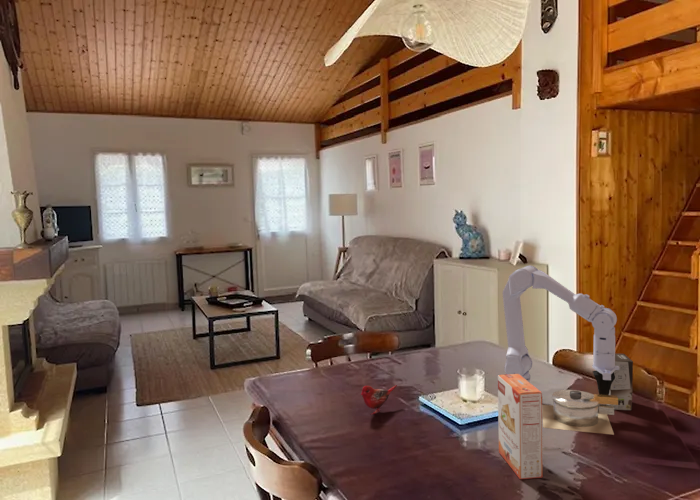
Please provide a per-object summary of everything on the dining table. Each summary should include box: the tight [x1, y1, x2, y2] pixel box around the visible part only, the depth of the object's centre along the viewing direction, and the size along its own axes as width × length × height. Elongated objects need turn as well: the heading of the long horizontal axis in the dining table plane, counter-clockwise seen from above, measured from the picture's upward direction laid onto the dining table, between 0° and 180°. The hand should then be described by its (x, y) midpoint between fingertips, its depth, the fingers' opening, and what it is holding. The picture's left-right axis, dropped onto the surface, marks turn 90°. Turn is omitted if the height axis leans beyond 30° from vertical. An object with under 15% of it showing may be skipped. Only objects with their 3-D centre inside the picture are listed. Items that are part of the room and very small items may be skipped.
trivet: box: [542, 404, 615, 436], centre depth 157 cm, size 18×18×1 cm
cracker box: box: [497, 373, 544, 480], centre depth 132 cm, size 14×6×21 cm, turn 5°
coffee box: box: [606, 353, 634, 411], centre depth 167 cm, size 9×6×16 cm
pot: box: [552, 400, 615, 427], centre depth 157 cm, size 16×12×5 cm
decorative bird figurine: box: [360, 384, 398, 416], centre depth 169 cm, size 3×18×10 cm, turn 137°
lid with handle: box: [551, 389, 618, 409], centre depth 156 cm, size 17×13×2 cm
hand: (603, 396), depth 159 cm, fingers closed
